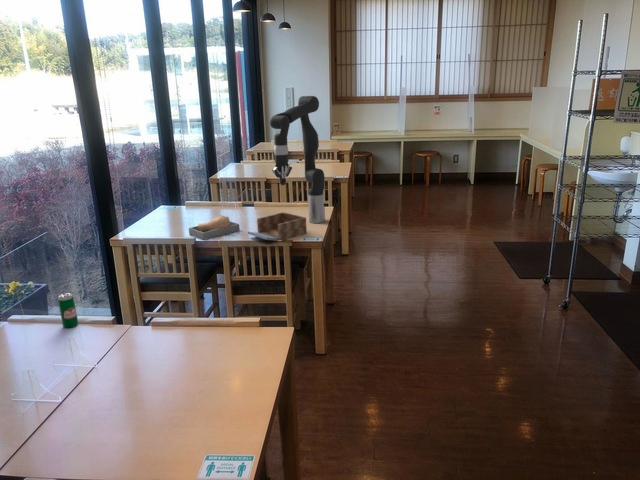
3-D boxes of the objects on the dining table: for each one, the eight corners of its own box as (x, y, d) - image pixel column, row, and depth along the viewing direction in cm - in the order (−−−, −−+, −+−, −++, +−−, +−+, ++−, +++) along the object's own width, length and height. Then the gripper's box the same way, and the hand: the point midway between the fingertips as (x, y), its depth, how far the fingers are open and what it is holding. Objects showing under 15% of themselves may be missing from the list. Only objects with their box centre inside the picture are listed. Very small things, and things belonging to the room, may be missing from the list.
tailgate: (259, 232, 285) (247, 231, 279) (277, 238, 273) (266, 237, 267) (258, 234, 285) (247, 233, 279) (277, 240, 273) (266, 239, 267)
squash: (230, 233, 287) (225, 219, 283) (197, 238, 290) (192, 224, 286) (234, 225, 297) (230, 211, 293) (202, 230, 300) (198, 216, 296)
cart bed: (284, 227, 299) (283, 212, 296) (306, 233, 286) (306, 217, 283) (258, 234, 286) (257, 218, 284) (280, 241, 273) (279, 224, 270)
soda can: (66, 330, 178) (60, 299, 175) (60, 325, 181) (54, 295, 178) (80, 324, 182) (75, 294, 178) (75, 321, 185) (69, 291, 181)
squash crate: (224, 225, 306) (224, 219, 305) (239, 230, 296) (239, 224, 294) (189, 234, 290) (188, 228, 289) (203, 239, 279) (202, 233, 278)
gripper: (286, 151, 277) (287, 182, 282) (267, 154, 268) (269, 186, 273) (295, 152, 272) (296, 183, 277) (276, 155, 263) (278, 187, 268)
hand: (283, 184), depth 275 cm, fingers closed
